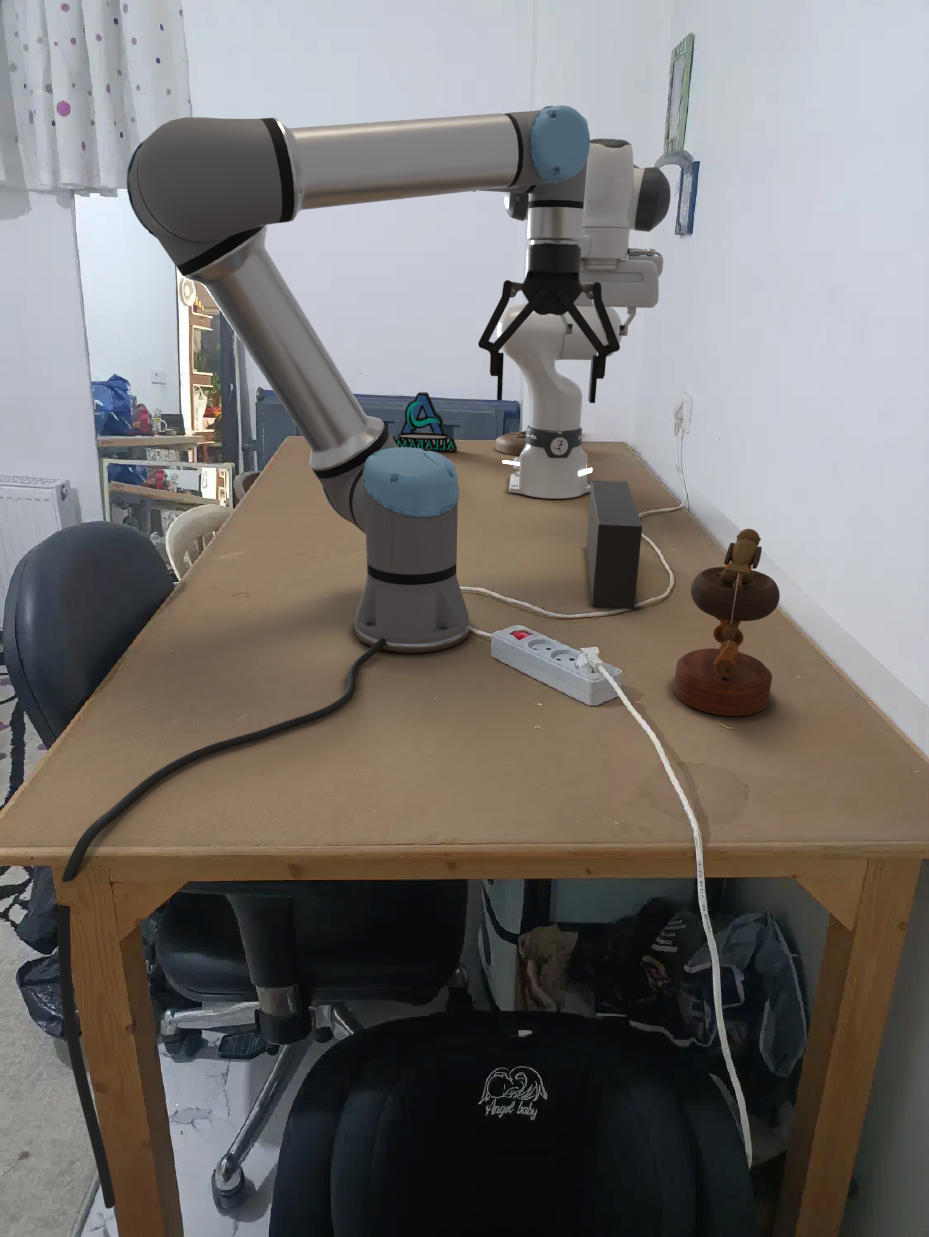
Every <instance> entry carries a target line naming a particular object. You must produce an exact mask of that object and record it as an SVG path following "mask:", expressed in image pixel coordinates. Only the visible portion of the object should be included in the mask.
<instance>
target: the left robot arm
mask: <svg viewBox="0 0 929 1237" xmlns="http://www.w3.org/2000/svg"><path fill="white" fill-rule="evenodd" d="M590 136H591V134H590V130H589V122H588V120H587V119H586V117H584V116H583V115H582V114H581V113H580V112H579V111H578V110H576V109H575V108H573V107H572V106H569V105H565V104H564V105H548V106H544V107H542V108H541V109H537V110H529V111H528V110H527V111H515V112H507V113H501V112H498V113H497V112H496V113H483V114H470V115H456V116H443V117H428V118H414V119H402V120H401V119H400V120H399V119H398V120H387V121H374V122H358V123H346V124H332V125H331V124H330V125H316V126H304V127H303V126H302V127H291V128H290V127H287V126H285V124H284V123H282V121H280V120H279V119H278V118H277V117H263V118H262V117H261V118H221V117H220V118H218V117H200V116H199V117H196V116H194V117H192V116H190V117H189V116H188V117H187V116H185V117H181V118H175V119H172V120H169V121H167V122H165V123H163V124H161V125H160V126H159V127H158V128H156V129H155V130H153V132H151V134H150V135H148V137H146V138H144V140H143V141H141V142H140V143H139V144H138V145H137V147H136V148H135V150H134V151H133V153H132V155H131V157H130V160H129V162H128V165H127V170H126V192H127V195H128V201H129V204H130V207H131V209H132V211H133V214H134V215H135V217H136V219H137V220H138V222H139V223H140V225H141V226H142V227H143V228H144V229H146V230H147V231H148V233H149V234H150V235H152V237H154V238H156V239H157V241H158V242H159V244H160V245H161V247H162V248H163V249H164V251H165V252H166V254H167V255H168V257H169V259H170V260H171V261H172V263H173V264H174V266H175V267H176V269H177V270H178V272H179V273H180V274H181V276H182V277H183V279H184V280H188V281H192V282H195V283H199V284H200V285H203V287H205V290H206V291H207V292H208V294H209V295H210V297H211V298H212V300H213V302H215V304H216V306H217V307H218V309H219V310H220V312H221V313H222V316H224V318H225V320H226V321H227V323H228V324H229V325H230V327H231V329H232V330H233V332H234V333H235V335H236V337H237V338H238V340H239V341H240V343H241V344H242V345H243V347H244V348H245V350H246V351H247V353H248V354H249V356H250V358H251V359H252V360H253V362H254V364H255V365H256V366H257V368H258V369H259V371H260V373H261V374H262V376H263V377H264V379H265V380H266V382H267V383H268V384H269V386H270V388H271V389H272V391H273V393H274V395H276V397H277V399H278V400H279V402H280V403H281V404H282V406H283V407H284V409H285V411H286V412H287V413H288V416H290V418H291V420H292V421H293V423H294V424H295V426H296V427H297V428H298V430H299V432H300V433H301V435H302V436H303V438H304V439H305V441H306V443H307V444H308V445H309V447H310V448H311V452H310V457H309V461H308V464H309V465H308V466H309V467H310V469H311V470H312V472H313V473H314V475H315V477H317V479H318V481H319V482H320V484H321V485H322V486H321V487H322V490H323V494H324V495H325V498H326V500H327V502H328V504H329V505H330V506H331V508H332V509H333V510H334V512H336V514H337V515H339V516H340V517H341V518H343V519H344V520H346V521H347V522H349V523H351V524H352V525H354V526H355V527H356V528H357V529H359V530H360V531H361V532H362V533H364V534H365V545H366V546H365V548H366V579H365V584H364V586H363V589H362V592H361V596H360V600H359V602H358V606H357V609H356V612H355V618H354V633H355V636H356V638H357V639H358V640H359V641H360V642H362V643H363V644H365V645H367V646H368V647H370V648H368V649H367V650H366V651H364V653H363V654H361V655H360V656H359V657H358V658H356V660H355V661H354V662H353V663H352V664H351V666H350V667H349V670H348V672H347V677H346V689H345V692H344V693H343V694H342V695H341V696H340V697H339V698H338V699H337V700H335V701H333V702H332V703H330V704H329V705H327V706H324V707H322V708H320V709H318V710H315V711H312V712H309V713H306V714H303V715H300V716H297V717H294V718H291V719H287V720H284V721H281V722H279V723H276V724H273V725H270V726H268V727H264V728H262V729H261V728H260V729H259V730H255V731H252V732H249V733H245V734H242V735H238V736H233V737H231V738H228V739H224V740H220V741H217V742H215V743H212V744H208V745H206V746H203V747H201V748H198V749H196V750H194V751H190V752H189V753H187V754H184V755H183V756H180V757H179V758H177V759H174V760H173V761H172V762H170V763H167V764H166V765H165V766H163V767H161V768H160V769H158V770H157V771H155V772H154V773H152V774H151V775H149V776H147V777H146V778H145V779H144V780H143V781H141V782H140V783H139V784H137V785H136V787H134V788H133V789H132V790H130V791H129V792H128V793H127V794H125V796H123V798H121V799H120V800H119V801H118V802H117V803H116V804H114V806H112V807H111V808H110V809H109V810H107V811H106V812H105V813H103V814H102V815H101V816H99V817H98V818H97V819H96V820H95V821H94V822H92V823H91V825H89V826H88V828H87V829H86V830H85V831H84V833H83V834H82V835H81V837H80V838H79V840H78V841H77V843H76V844H75V847H74V848H73V850H72V853H71V854H70V857H69V859H68V861H67V864H66V866H65V869H64V871H63V875H62V877H61V881H62V882H63V883H69V882H71V881H73V880H75V878H76V876H77V873H78V871H79V868H80V866H81V863H82V861H83V860H84V858H85V855H86V853H87V851H88V849H89V847H90V846H91V844H92V842H93V841H94V840H95V838H96V837H97V836H98V835H99V834H100V833H101V831H103V830H104V829H105V828H106V827H107V826H108V825H110V824H111V823H112V822H114V821H115V820H116V819H117V818H118V817H119V816H120V815H122V814H123V813H124V812H126V810H127V809H128V808H130V807H131V806H132V805H133V804H134V803H135V802H136V801H137V800H138V799H139V798H141V797H142V796H143V795H145V793H147V791H149V790H150V789H151V788H153V787H154V786H155V785H157V784H158V783H159V782H161V781H163V779H165V778H166V777H168V776H170V775H171V774H173V773H175V772H176V771H178V770H180V769H181V768H184V767H185V766H187V765H189V764H191V763H193V762H195V761H198V760H200V759H202V758H205V757H208V756H210V755H213V754H216V753H218V752H222V751H225V750H228V749H231V748H234V747H238V746H242V745H246V744H248V743H251V742H255V741H259V740H262V739H264V738H267V737H271V736H273V735H276V734H278V733H282V732H285V731H287V730H290V729H294V728H296V727H300V726H302V725H305V724H309V723H311V722H314V721H318V720H320V719H322V718H324V717H326V716H329V715H330V714H333V713H335V712H336V711H338V710H340V709H341V708H342V707H344V706H345V705H346V704H347V703H348V702H349V701H350V700H351V699H352V698H353V695H354V692H355V690H356V676H357V673H358V671H359V669H360V668H361V667H362V666H363V665H364V664H365V663H366V662H368V660H370V659H371V658H372V657H374V655H376V654H377V653H378V652H379V651H384V652H390V653H396V654H397V653H398V654H425V653H433V652H439V651H443V650H446V649H449V648H452V647H455V646H457V645H458V644H460V643H462V642H463V641H464V640H466V639H467V637H468V636H469V634H470V616H469V612H468V608H467V606H466V601H465V599H464V596H463V593H462V589H461V586H460V583H459V581H458V577H457V561H458V560H457V559H458V558H457V557H458V556H457V554H458V518H459V517H458V514H459V510H458V508H459V498H460V497H459V496H460V486H459V484H458V483H459V482H458V472H457V469H456V466H455V464H454V463H453V462H452V461H451V460H450V459H449V458H448V457H446V456H445V455H443V454H441V453H439V452H437V451H430V450H428V451H424V450H423V449H419V448H408V447H398V446H397V444H396V443H395V441H394V439H393V438H392V436H393V435H392V434H391V433H390V430H388V428H387V426H386V425H385V423H384V421H383V420H382V419H381V418H379V417H375V416H369V415H368V414H366V413H365V411H364V409H363V407H362V406H361V405H360V403H359V401H358V400H357V398H356V396H355V395H354V393H353V391H352V390H351V388H350V386H349V384H348V383H347V381H346V380H345V378H344V376H343V375H342V373H341V371H340V370H339V368H338V366H337V365H336V363H335V361H334V360H333V358H332V356H331V355H330V353H329V352H328V350H327V348H326V346H325V345H324V343H323V341H322V340H321V339H320V337H319V335H318V334H317V332H316V330H315V328H314V326H313V325H312V323H311V322H310V320H309V318H308V316H307V315H306V313H305V312H304V310H303V308H302V307H301V305H300V303H299V302H298V300H297V298H296V297H295V295H294V293H293V292H292V290H291V288H290V287H289V285H288V283H287V282H286V280H285V279H284V277H283V276H282V273H281V271H280V270H279V268H278V267H277V265H276V263H275V262H274V260H273V259H272V257H271V256H270V253H269V252H268V250H267V249H266V237H267V232H268V226H269V225H275V224H285V223H292V222H294V220H295V219H296V217H297V216H298V214H299V212H301V211H305V210H313V209H314V210H315V209H322V208H323V209H324V208H332V207H341V206H351V205H358V204H360V205H361V204H368V203H377V202H386V201H394V200H404V199H412V198H423V197H432V196H440V195H449V194H450V195H451V194H458V193H459V194H460V193H467V192H473V193H475V192H477V191H478V192H497V193H503V192H516V193H524V194H528V193H529V210H528V220H527V233H526V234H527V236H526V239H527V240H528V241H529V240H531V245H529V246H528V245H527V247H528V248H527V247H526V254H525V255H526V258H525V277H524V281H523V282H517V281H511V280H509V279H506V280H504V281H503V285H502V291H501V297H500V299H499V301H498V303H497V305H496V307H495V308H494V311H493V312H492V314H491V317H490V318H489V320H488V323H487V324H486V327H485V328H484V330H483V332H482V333H481V336H480V338H479V340H478V342H477V344H478V348H480V349H483V350H485V351H487V352H488V353H489V355H490V359H489V375H490V376H491V377H497V385H496V386H497V388H496V401H497V402H498V401H500V402H502V401H503V386H504V384H503V383H504V382H503V381H504V359H505V358H504V356H505V355H504V354H505V352H500V350H502V347H503V345H504V344H505V343H506V342H507V341H508V340H509V338H510V337H511V336H512V335H513V334H514V333H515V332H516V330H517V329H518V328H519V327H520V326H521V325H522V323H523V322H524V321H525V320H526V319H527V318H528V317H529V316H530V314H531V313H532V312H533V311H535V312H536V313H537V314H539V315H547V314H554V315H563V314H565V313H566V312H568V313H569V314H570V316H571V317H572V318H573V320H574V321H575V322H576V324H577V325H578V327H579V328H580V329H581V331H582V332H583V334H584V335H585V336H586V338H587V339H588V340H589V342H590V343H591V345H592V346H593V347H594V349H595V350H596V352H597V355H592V356H591V360H590V370H589V372H590V373H589V383H588V384H589V385H588V397H587V401H588V402H589V404H596V397H597V396H596V395H597V384H598V380H603V379H604V378H605V376H606V365H607V364H606V363H607V355H608V354H610V353H613V352H614V353H617V352H618V351H620V349H621V345H620V344H619V342H618V340H617V337H616V335H615V332H614V329H613V327H612V324H611V322H610V319H609V317H608V314H607V311H606V309H605V306H604V304H603V301H602V292H601V284H600V283H599V282H593V283H592V284H582V285H581V283H580V279H579V273H580V258H581V249H580V246H578V244H577V241H580V240H581V239H582V228H583V213H584V210H583V208H584V196H585V182H586V169H587V158H588V155H589V150H590V140H591V138H590ZM518 292H521V293H522V294H523V297H524V298H525V300H526V301H527V303H525V304H526V305H525V307H524V308H523V309H522V310H521V311H520V313H519V314H518V315H517V316H516V317H515V318H514V320H513V321H512V322H511V323H510V324H509V326H508V327H507V328H506V329H505V330H504V331H503V333H502V334H501V335H500V336H499V337H498V338H496V339H495V340H494V341H490V339H491V337H492V336H493V333H494V332H495V330H496V329H497V327H498V323H499V320H500V318H501V316H502V314H503V313H504V311H505V310H506V309H507V306H508V304H509V302H510V299H511V298H515V297H516V296H517V293H518ZM581 292H584V293H585V294H586V297H587V298H588V299H592V303H593V306H594V309H595V311H596V314H597V316H598V319H599V321H600V324H601V327H602V329H603V332H604V334H605V337H606V339H607V342H608V344H606V345H603V344H602V342H601V341H600V340H599V338H598V337H597V335H596V334H595V333H594V331H593V330H592V328H591V327H590V326H589V324H588V323H587V322H586V320H585V319H584V317H583V316H582V315H581V313H580V312H579V310H578V309H577V307H576V306H575V305H574V302H575V301H576V299H577V298H578V297H579V295H580V294H581ZM614 353H613V354H614ZM56 914H57V959H58V960H57V961H58V977H59V978H58V979H59V994H60V1002H61V1011H62V1019H63V1026H64V1031H65V1037H66V1043H67V1044H66V1045H67V1048H68V1055H69V1060H70V1063H71V1064H70V1065H71V1068H72V1073H73V1078H74V1082H75V1086H76V1091H77V1093H78V1094H77V1095H78V1098H79V1102H80V1106H81V1109H82V1113H83V1117H84V1120H85V1124H86V1129H87V1133H88V1136H89V1137H88V1138H89V1140H90V1145H91V1149H92V1152H93V1157H94V1160H95V1165H96V1169H97V1173H98V1178H99V1183H100V1188H101V1193H102V1199H103V1204H104V1208H106V1209H108V1210H110V1209H112V1208H114V1206H115V1205H116V1203H117V1202H116V1198H115V1197H116V1196H115V1193H114V1192H115V1190H114V1186H113V1180H112V1175H111V1171H110V1166H109V1161H108V1158H107V1157H108V1156H107V1153H106V1148H105V1143H104V1141H103V1136H102V1132H101V1127H100V1124H99V1120H98V1114H97V1112H96V1108H95V1104H94V1101H93V1097H92V1092H91V1087H90V1083H89V1079H88V1074H87V1070H86V1066H85V1062H84V1057H83V1051H82V1047H81V1041H80V1034H79V1028H78V1021H77V1016H76V1006H75V997H74V987H73V986H74V985H73V971H72V945H71V944H72V943H71V942H72V939H71V905H63V904H57V912H56Z"/></svg>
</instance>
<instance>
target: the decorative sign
mask: <svg viewBox="0 0 929 1237" xmlns="http://www.w3.org/2000/svg"><path fill="white" fill-rule="evenodd" d="M422 411H423V413H424V416H422V417H420V416H421V413H422ZM404 420H405V421H404V423H403V425H402V428H401V430H400V433H399V434H398V436H397V437H396V436H395V435H391V436H392V438H393V439H394V441H395V443H396V444H397V446H398V447H408V448H419V449H423V450H424V451H433V452H447V453H449V452H453V453H455V452H457V450H458V446H457V444H456V440H455V438H454V437H453V436H452V437H449V434H448V433H447V432H445V430H444V427H443V424H444V419H443V417H442V416H441V415H440V414H439V413H438V412H437V411H436V408H435V406H434V404H433V401H432V399H431V397H430V394H429V392H427V391H419V392H417V393H416V395H415V398H414V399H412V400H411V401H410V402H408V404H407V406H406V407H405V411H404ZM426 427H430V429H431V431H417V430H418V429H424V428H426ZM448 438H449V439H448Z"/></svg>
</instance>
